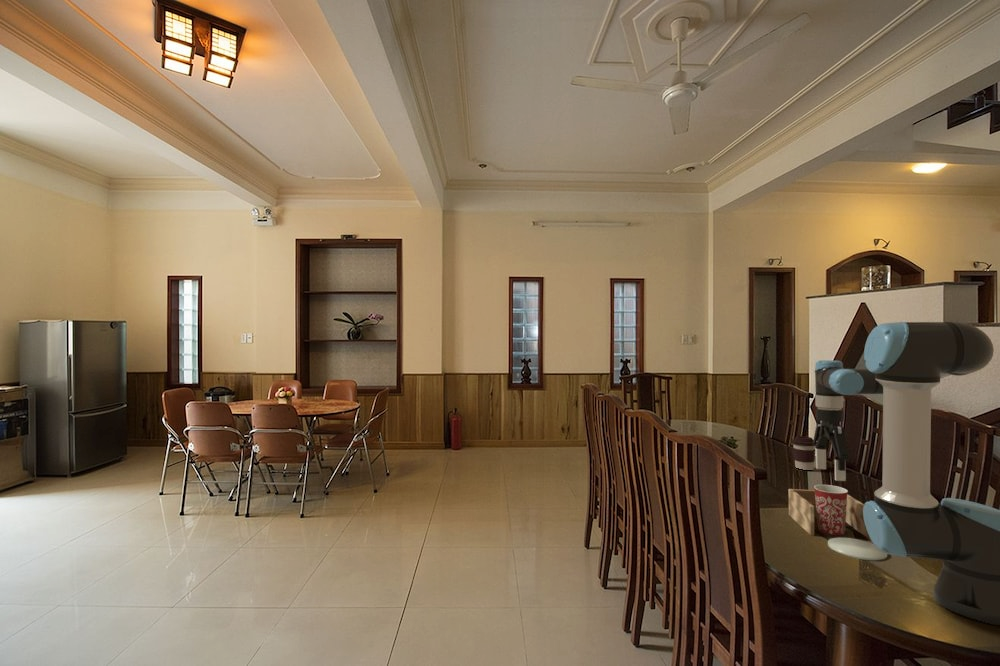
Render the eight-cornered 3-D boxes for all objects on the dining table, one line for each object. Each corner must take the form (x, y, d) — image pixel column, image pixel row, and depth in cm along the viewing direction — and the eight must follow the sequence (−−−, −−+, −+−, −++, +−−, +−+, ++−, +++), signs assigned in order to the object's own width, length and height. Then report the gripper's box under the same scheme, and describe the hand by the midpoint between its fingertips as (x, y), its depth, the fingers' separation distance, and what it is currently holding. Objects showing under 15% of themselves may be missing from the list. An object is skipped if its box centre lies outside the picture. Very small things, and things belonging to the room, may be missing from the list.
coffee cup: (796, 465, 241) (796, 434, 241) (820, 469, 233) (819, 437, 233) (788, 469, 234) (788, 437, 235) (812, 473, 227) (811, 440, 227)
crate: (872, 539, 151) (871, 509, 152) (810, 535, 155) (810, 506, 155) (843, 518, 170) (843, 491, 170) (788, 514, 173) (788, 488, 173)
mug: (848, 539, 152) (847, 494, 152) (813, 532, 157) (812, 489, 157) (849, 526, 162) (848, 484, 162) (816, 520, 167) (815, 480, 167)
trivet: (898, 562, 136) (898, 559, 136) (841, 558, 138) (841, 555, 138) (871, 542, 149) (871, 539, 149) (819, 538, 152) (819, 536, 152)
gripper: (862, 414, 147) (863, 486, 147) (825, 403, 172) (826, 465, 172) (834, 414, 149) (835, 485, 149) (801, 403, 173) (802, 464, 173)
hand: (830, 474), depth 160 cm, fingers open, 13 cm apart
